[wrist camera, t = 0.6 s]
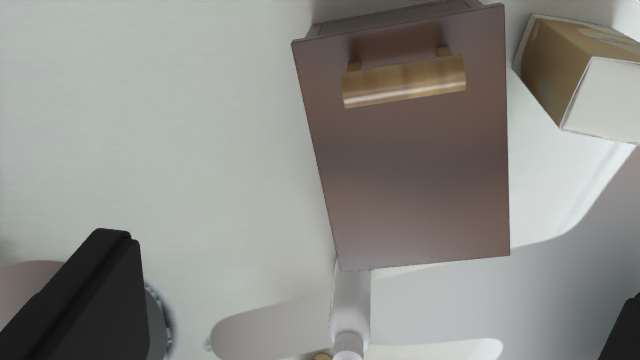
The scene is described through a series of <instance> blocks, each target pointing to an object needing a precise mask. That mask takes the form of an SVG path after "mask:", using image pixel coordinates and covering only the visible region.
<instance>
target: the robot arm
mask: <svg viewBox="0 0 640 360" xmlns="http://www.w3.org/2000/svg"><path fill="white" fill-rule="evenodd" d="M146 309H147V308H146V300H145V290H144V280H143V271H142V262H141V252H140V245H139V242H138V241H137V240H134V239H132V238H131V235H130V233H129V232H127V231H122V230H113V229H104V228H97V229H96V230H94V231H93V232H92V233H91V234H90V236H89V237H88V238H87V239H86V240H85V241H84V242H83V243H82V245H81V246H80V247H79V248H78V249H77V250H76V251H75V253H74V254H73V255H72V256H71V257H70V258H69V259H68V260H67V262H66V263H65V264H64V265H63V266H62V267H61V269H60V270H59V271H58V272H57V273H56V274H55V275H54V276H53V278H52V279H51V280H50V281H49V282H48V283H47V284H46V285H45V287H44V288H43V289H42V290H41V291H40V292H38V293H36V294H35V295H34V296H33V297H32V298H31V299H30V300H29V301H28V302H27V303H26V304H25V305H24V306H23V307H22V308H21V309H20V311H19V312H18V313H17V314H16V315H15V316H14V317H13V318H12V320H11V321H10V322H9V323H8V324H7V325H6V326H5V327H4V329H3V330H2V331H1V332H0V360H146V358H147V355H148V351H149V346H150V337H149V327H148V318H147V310H146ZM598 360H640V292H639V293H638V294H637V295H636V296H635V297H634V298H630V299H628V300H627V301H626V302H625V304H624V306H623V308H622V310H621V312H620V315H619V316H618V318H617V321H616V323H615V325H614V327H613V329H612V331H611V333H610V335H609V337H608V339H607V341H606V344H605V346H604V348H603V350H602V352H601V354H600V356H599V358H598Z"/></svg>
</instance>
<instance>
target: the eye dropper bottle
mask: <svg viewBox="0 0 640 360" xmlns="http://www.w3.org/2000/svg"><path fill="white" fill-rule="evenodd" d="M330 307H331V308H330V318H329V331H330V336H331V339H332V342H333V344H334V349H333V360H363V354H364V352H365V350H366V349H367V347H368V344H369V339H370V273H369V270H357V271H347V272H341V271H340V266H339V261H338V258H337V260H336V263H335V268H334V277H333V286H332V296H331V306H330Z"/></svg>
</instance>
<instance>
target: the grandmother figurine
mask: <svg viewBox="0 0 640 360" xmlns="http://www.w3.org/2000/svg"><path fill="white" fill-rule="evenodd" d="M314 360H333V358H331V357H330V356H328V355H327V354H325V353H319V354H317V355H316V356H315V357H314Z"/></svg>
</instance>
